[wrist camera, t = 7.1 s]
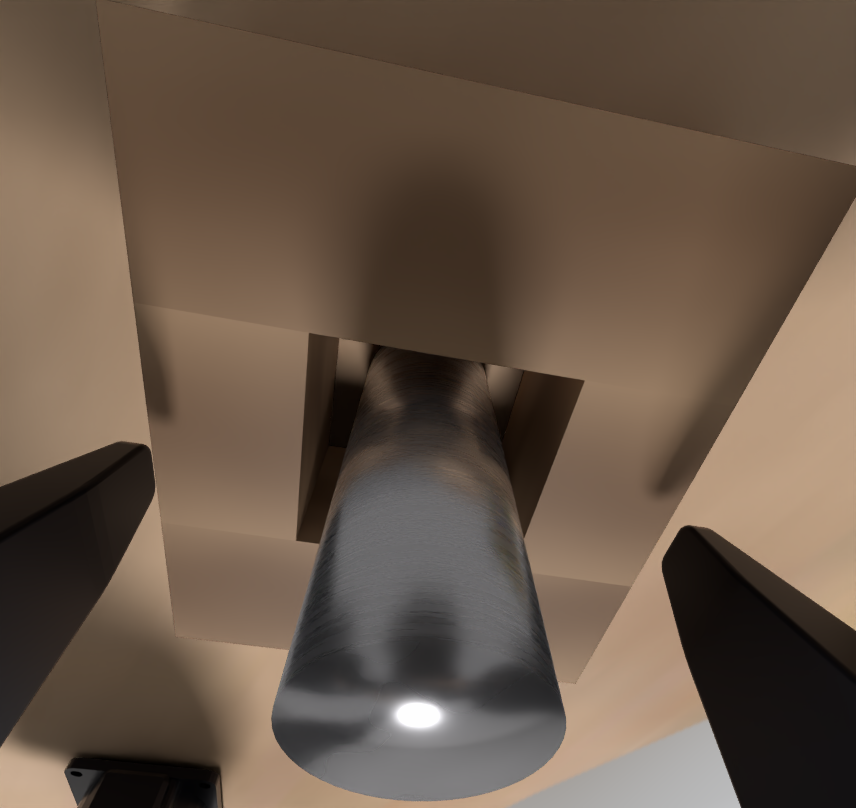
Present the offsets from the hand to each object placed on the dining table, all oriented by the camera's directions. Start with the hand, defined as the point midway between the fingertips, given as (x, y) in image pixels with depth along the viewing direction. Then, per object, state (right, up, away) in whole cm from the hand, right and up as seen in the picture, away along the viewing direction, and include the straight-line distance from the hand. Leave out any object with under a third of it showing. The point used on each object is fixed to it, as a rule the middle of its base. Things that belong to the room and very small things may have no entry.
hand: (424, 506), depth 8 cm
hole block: (0, +2, +4) cm, 4 cm away
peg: (0, +2, +4) cm, 4 cm away
